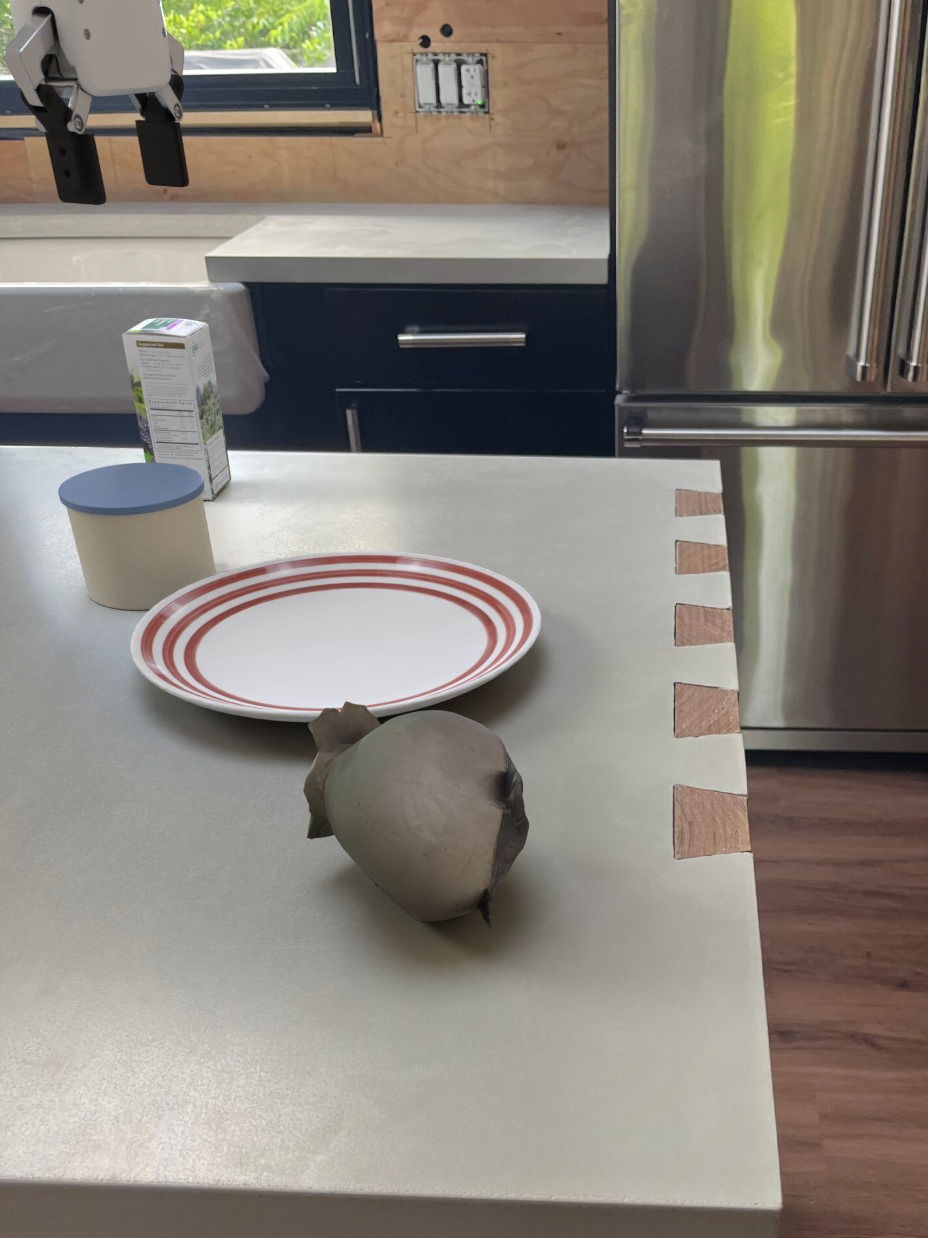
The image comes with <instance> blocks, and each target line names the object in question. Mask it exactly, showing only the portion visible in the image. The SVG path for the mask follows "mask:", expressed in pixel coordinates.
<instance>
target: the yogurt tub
mask: <svg viewBox="0 0 928 1238" xmlns="http://www.w3.org/2000/svg"><path fill="white" fill-rule="evenodd" d="M204 487H205V486H204V480H203V477H202V475H201V474H200V473H199V472H197V471H196V470H194V469H191V468H188V467H185V466H181V465H175V464H168V463H146V462H130V463H118V464H113V465H107V466H102V467H97V468H93V469H89V470H86V471H83V472H80V473H77V474H76V475H73V476H71V477H69V478H67V479H66V480H64V481H63V482H62V483H61V484H60V485H59V487H58V491H57V494H58V497H59V501H60V502H61V504H62V505H63V506H65V508H66V512H67V515H68V519H69V524H70V527H71V532H72V535H73V539H74V543H75V547H76V551H77V555H78V559H79V563H80V567H81V572H82V576H83V579H84V583H85V588H86V592H87V595H88V597H89V598H90V600H92V601H93V602H95V603H97V604H98V605H101V606H104V607H107V608H110V609H111V608H112V609H117V610H126V611H128V610H129V611H145V610H146V611H147V610H148V611H149V610H150V609H152V608H153V607H154V606H155V605H156V604H158V603H159V602H160V601H162V600H163V599H165V598H166V597H168V596H170V595H171V594H173V593H175V592H177V591H178V590H180V589H182V588H184V587H186V586H188V585H191V584H193V583H195V582H197V581H200V580H202V579H205V578H208V577H210V576H213V575H216V574H217V568H216V564H215V559H214V553H213V548H212V541H211V535H210V531H209V526H208V520H207V515H206V509H205V502H204V500H203V497H202V492H203V490H204Z"/></svg>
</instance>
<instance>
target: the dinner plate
mask: <svg viewBox="0 0 928 1238" xmlns="http://www.w3.org/2000/svg"><path fill="white" fill-rule="evenodd" d="M541 627H542V614H541V611H540V607H539V605H538V603H537V602H536V600H535V599H534V598H533V596H532V595H531V594H530V593H529V592H528V591H527V590H526V589H525V588H524V587H522V586H521V585H520V584H518V583H517V582H516V581H513V580H511V579H510V578H508V577H506V576H505V575H503V574H501V573H498V572H495V571H493V570H491V569H488V568H485V567H482V566H479V565H477V564H473V563H471V562H466V561H462V560H459V559H453V558H449V557H445V556H438V555H433V554H423V553H416V552H415V553H414V552H405V551H387V550H386V551H384V550H383V551H381V550H380V551H379V550H375V551H374V550H353V551H351V550H350V551H349V550H348V551H332V552H319V553H311V554H310V553H309V554H301V555H300V554H299V555H295V556H289V557H283V558H276V559H275V558H274V559H271V560H265V561H261V562H257V563H252V564H248V565H244V566H240V567H236V568H232V569H230V570H225V571H223V572H219V573H216V575H213V576H210V577H208V578H205V579H202V580H200V581H197V582H195V583H193V584H191V585H188V586H186V587H184V588H182V589H180V590H178V591H177V592H175V593H173V594H171V595H170V596H168V597H166V598H165V599H163V600H162V601H160V602H159V603H158V604H156V605H155V606H154V607H153V608H152V609H148V611H147V612H146V613H145V614H144V615H143V616H142V617H141V619H140V620H139V621H138V623H137V624H136V626H135V628H134V629H133V631H132V634H131V637H130V642H129V652H130V656H131V659H132V662H133V664H134V666H135V667H136V669H137V670H138V671H139V672H140V673H141V675H142V676H143V677H144V678H145V679H146V680H148V681H149V682H150V683H151V684H152V685H154V686H156V687H157V688H158V689H159V690H162V691H163V692H166V693H168V694H169V695H171V696H173V697H175V698H178V699H180V700H182V701H185V702H188V703H190V704H193V705H195V706H198V707H202V708H205V709H209V710H212V711H216V712H219V713H224V714H229V715H233V716H240V717H247V718H251V719H256V720H257V719H258V720H267V721H276V722H290V723H291V722H293V723H310V722H312V721H313V720H314V719H316V718H317V717H319V715H320V714H321V712H322V711H323V710H324V708H335V709H337V710H338V711H341V709H342V707H343V705H344V703H345V701H347V702H350V703H353V704H360V705H365V706H366V707H367V709H368V711H369V712H370V713H371V714H372V715H373V716H376V718H382V717H383V718H384V717H387V716H393V715H399V714H403V713H408V712H411V711H415V710H419V709H423V708H427V707H430V706H433V705H437V704H439V703H443V702H445V701H448V700H451V699H453V698H456V697H459V696H461V695H463V694H466V693H469V692H470V691H472V690H474V689H477V688H479V687H481V686H483V685H484V684H486V683H488V682H490V681H492V680H494V679H496V678H497V677H499V676H500V675H501V674H503V673H505V672H506V671H507V670H509V669H510V668H512V666H514V665H515V664H516V663H517V662H518V661H520V660H521V659H522V658H523V657H525V655H526V654H527V653H528V652H529V651H530V650H531V649H532V647H533V646H534V645H535V643H536V641H537V640H538V638H539V635H540V632H541Z"/></svg>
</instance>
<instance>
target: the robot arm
mask: <svg viewBox="0 0 928 1238" xmlns="http://www.w3.org/2000/svg"><path fill="white" fill-rule="evenodd" d="M8 2H9V9H10V14H11V19H12V20H11V21H12V25H13V26H12V27H13V31H14V37H13V38H12V40H11V41H10V42H9V43H8V44H7V46H6V47H5V48H4V50H3V54H2V56H3V60H4V63H5V65H6V66H7V68H8V71H9V72H10V74H11V76H12V78H13V80H14V82H15V84H16V85H17V87H18V89H19V96H20V98H21V100H22V103H24V105H25V106H26V107H27V109H28V110H29V111H30V112H31V113H32V115H33V117H34V121H35V122H34V123H35V125H36V128H37V129H38V131H40V132H42V133H44V136H45V141H46V146H47V149H48V156H49V159H50V164H51V168H52V174H53V179H54V184H55V187H56V193H57V196H58V199H59V200H60V202H63V203H65V204H77V205H78V204H79V205H90V206H91V205H92V206H101V205H104V204H106V203H107V194H106V193H107V192H106V189H105V183H104V178H103V173H102V168H101V162H100V157H99V153H98V148H97V143H96V142H97V141H96V139H95V138H96V137H95V134H94V133H93V132H92V133H91V132H85V131H86V127H87V123H88V120H89V115H90V111H91V107H92V103H93V99H94V97H112V96H124V95H127V96H128V98H129V99H130V101H131V103H132V104H133V106H134V107H135V109H136V110H137V112H138V114H139V116H140V117H141V118H142V119H135V120H134V123H135V128H136V135H137V140H138V145H139V146H138V147H139V152H140V158H141V164H142V168H143V175H144V180H145V181H146V184H148V185H149V186H158V187H168V188H187V187H188V186H189V185H190V176H189V172H188V171H189V170H188V165H187V158H186V153H185V145H184V140H183V134H182V127H181V122H182V121H183V118H184V110H183V106H182V105H181V102H182V98H183V95H184V91H185V83H184V79H183V74H184V63H185V49H184V46H183V45H182V44H181V42H179V40H177V39H176V37H174V36H173V35H172V34H171V33H170V32H169V31H168V30H167V27H166V20H165V17H164V10H163V5H162V0H8ZM63 99H69V102H68V105H67V104H66V102H65V101H64V100H63Z"/></svg>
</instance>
